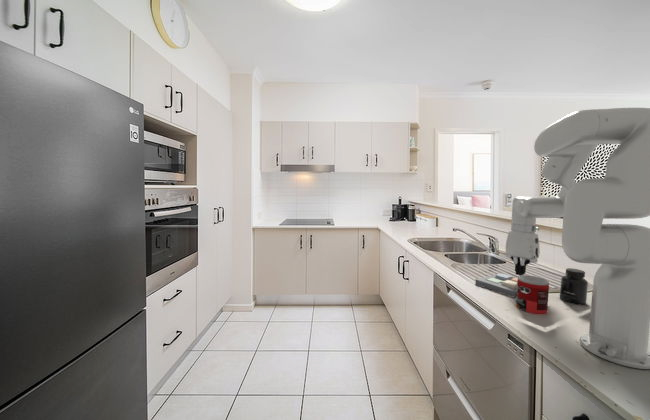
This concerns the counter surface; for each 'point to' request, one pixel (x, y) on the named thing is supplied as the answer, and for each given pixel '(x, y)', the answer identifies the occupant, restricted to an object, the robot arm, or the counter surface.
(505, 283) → the sand key
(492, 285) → the keypad
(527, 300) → the canned food
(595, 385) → the counter surface
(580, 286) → the supplement bottle
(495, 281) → the sage key
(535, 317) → the counter surface
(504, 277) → the slate key
